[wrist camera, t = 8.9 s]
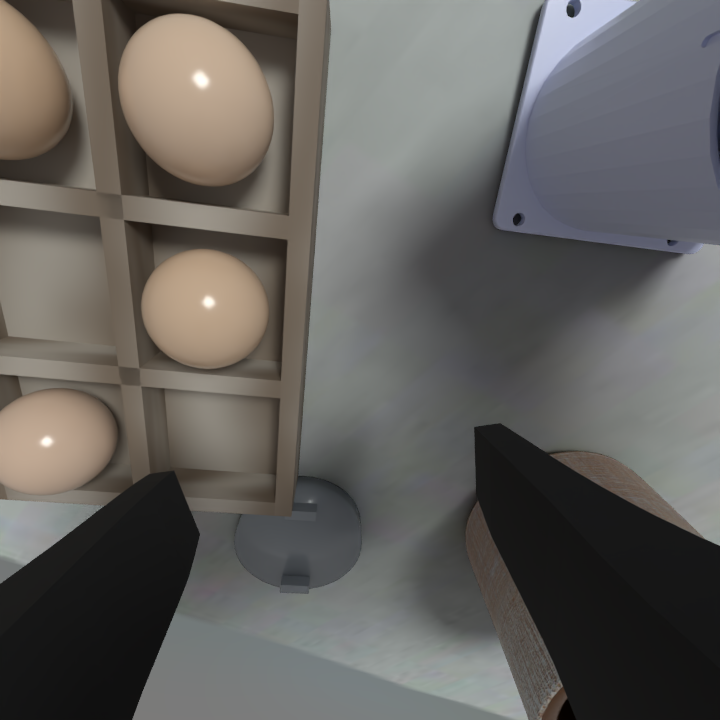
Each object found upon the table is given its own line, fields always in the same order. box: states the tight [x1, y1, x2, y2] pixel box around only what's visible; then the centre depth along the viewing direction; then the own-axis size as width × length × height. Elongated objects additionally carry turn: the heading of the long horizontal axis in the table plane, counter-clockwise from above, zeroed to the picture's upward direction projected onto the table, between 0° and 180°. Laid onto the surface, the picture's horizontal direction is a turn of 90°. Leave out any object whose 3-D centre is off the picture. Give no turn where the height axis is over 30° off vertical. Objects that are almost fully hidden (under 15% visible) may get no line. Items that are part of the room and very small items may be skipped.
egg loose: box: [141, 249, 269, 369], centre depth 14 cm, size 4×4×4 cm
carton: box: [0, 0, 331, 517], centre depth 16 cm, size 14×20×3 cm
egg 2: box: [0, 388, 118, 496], centre depth 16 cm, size 4×4×4 cm
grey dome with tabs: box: [234, 476, 362, 594], centre depth 22 cm, size 7×7×2 cm
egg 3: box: [118, 13, 274, 187], centre depth 12 cm, size 4×4×4 cm
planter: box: [465, 451, 706, 720], centre depth 19 cm, size 11×11×10 cm
